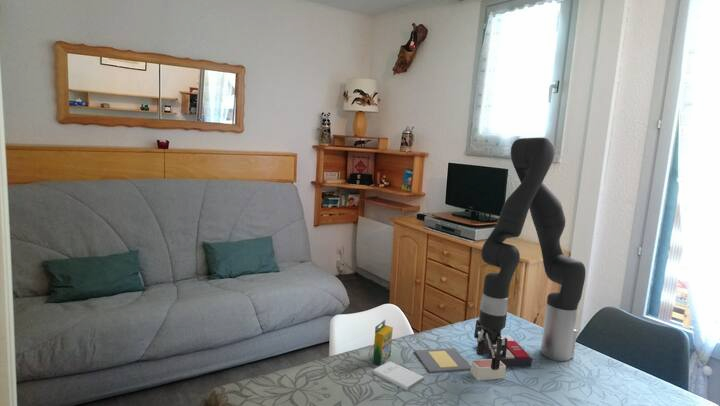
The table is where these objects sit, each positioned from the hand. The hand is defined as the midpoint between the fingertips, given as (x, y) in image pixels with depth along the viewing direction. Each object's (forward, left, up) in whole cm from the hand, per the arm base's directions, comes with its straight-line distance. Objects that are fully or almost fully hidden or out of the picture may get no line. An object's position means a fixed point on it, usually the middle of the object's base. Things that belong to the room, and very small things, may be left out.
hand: (487, 361), depth 132 cm
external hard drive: (+27, -3, -5) cm, 27 cm away
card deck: (0, 0, -4) cm, 4 cm away
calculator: (-13, -11, -5) cm, 17 cm away
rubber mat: (+10, -10, -4) cm, 14 cm away
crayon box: (+29, -13, -4) cm, 32 cm away
